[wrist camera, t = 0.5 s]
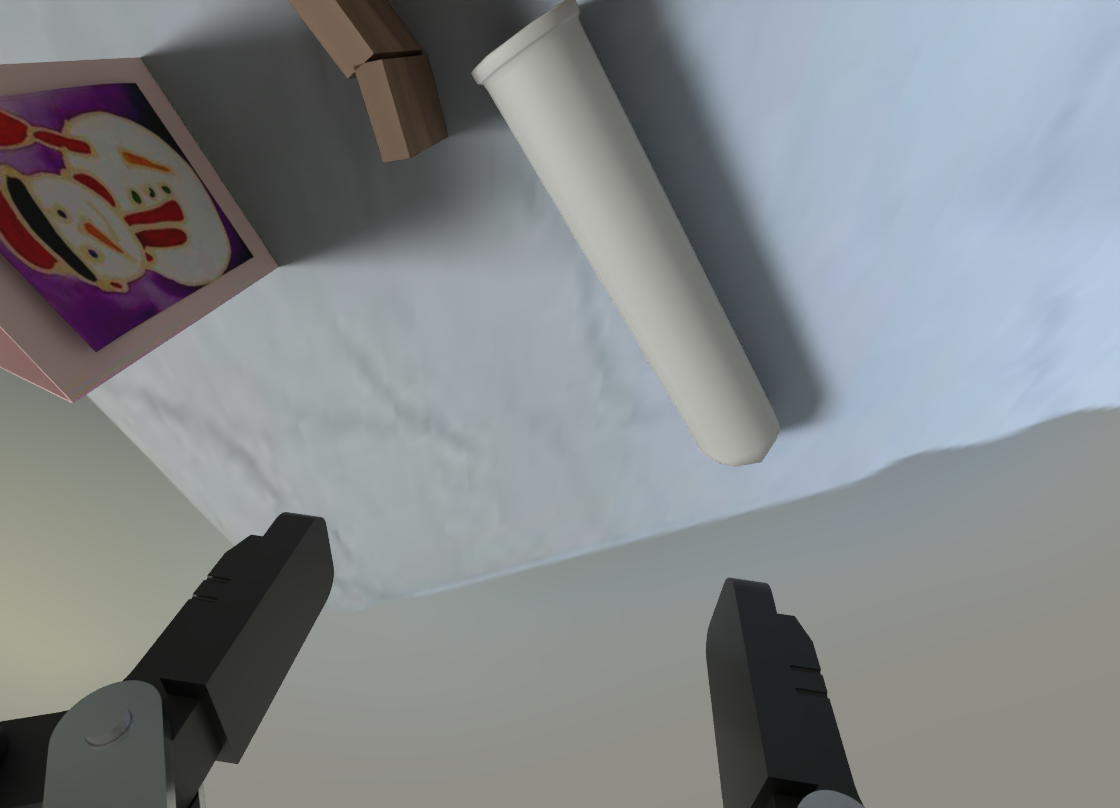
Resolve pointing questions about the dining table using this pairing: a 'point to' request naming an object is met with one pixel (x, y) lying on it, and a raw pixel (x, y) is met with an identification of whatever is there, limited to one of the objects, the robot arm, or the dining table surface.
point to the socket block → (381, 71)
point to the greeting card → (106, 224)
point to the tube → (628, 230)
